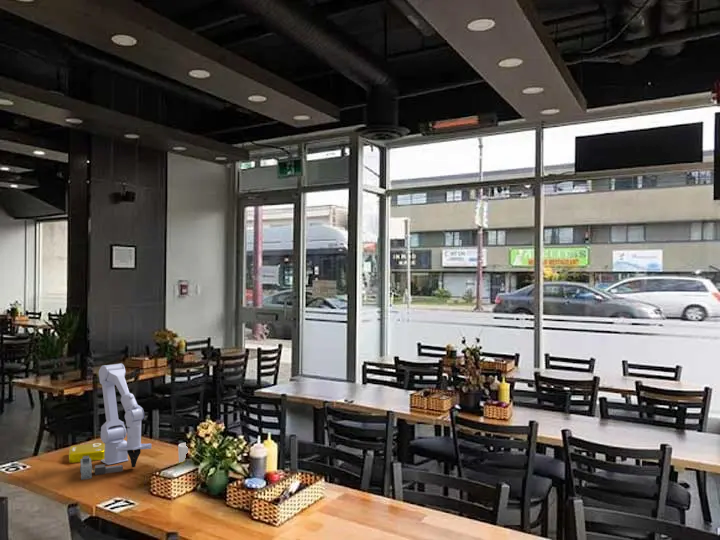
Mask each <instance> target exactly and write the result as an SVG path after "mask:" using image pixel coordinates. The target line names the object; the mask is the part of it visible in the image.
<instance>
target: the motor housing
mask: <svg viewBox="0 0 720 540" xmlns="http://www.w3.org/2000/svg"><path fill="white" fill-rule="evenodd" d="M92 469H93V465H92V461H91V458H89V456H83V459H81V462H80V471H79V472H80V480H82V481H84V480H91V479H92V478H93V477H92V476H93V471H92Z"/></svg>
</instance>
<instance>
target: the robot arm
mask: <svg viewBox="0 0 720 540" xmlns="http://www.w3.org/2000/svg"><path fill="white" fill-rule="evenodd" d="M125 377H126V368H125V365H124V364H123V363H122V362H121V363H114V364H107V365H101V366H100V368H99V370H98V379H99V384H100V385H101V388H102V395H103V397H102V398H103V405H104V413H105V420H106V421H105V422H103V424H102V425H101V427H100V439H101V441H102V443H104V446H105V459H103V460H100V462H102V463H104V464H105V465H107V466H112V465H114V464H118V463H119V464H120V463H123V462H128V461H130V465H131V468H136V466H137V462H138V458H139V456H140V454H141V452H142V450H152V443H142V421H143V420H144V418H145V411H144V408H143V407H142V406H141V405H139V404H138V402H137V400H136V397H135V395H134V394H133V393H131V392H130V390H129V388H128V387H129V386H128V384H127V381H126V378H125ZM115 386H116V387H115ZM115 388H116V389H117V390H118V392H119V394H120V396H121V397H120V402H121V404H122V407H123V409H124V412H125V413H124V419H125V422H124V421H122V420H121V419H119V414H118V413H119V412H118V403H117V397H116V396H117V395H116V389H115ZM126 427H127V428H126ZM125 439H126V440H125ZM128 457H129V459H130V460H129V459H128Z"/></svg>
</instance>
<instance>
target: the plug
mask: <svg viewBox="0 0 720 540" xmlns="http://www.w3.org/2000/svg"><path fill="white" fill-rule="evenodd" d="M123 471H124V466H123V464H120V465H119V464H118V465H109V466H106V464H105V463H104V464H96V465H94V468H92V473H94V476H100V475H106V474H112V473H121V472H123Z"/></svg>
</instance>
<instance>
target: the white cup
mask: <svg viewBox="0 0 720 540" xmlns="http://www.w3.org/2000/svg"><path fill="white" fill-rule="evenodd" d="M177 447H178V448H177V449H178V450H177V452H178V453H177V454H178V464H179V463H180V462H183V461H184V460H185V458H186V454H187V453H188V447H187V446H186V442H181V443H179V444H178V446H177Z"/></svg>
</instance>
